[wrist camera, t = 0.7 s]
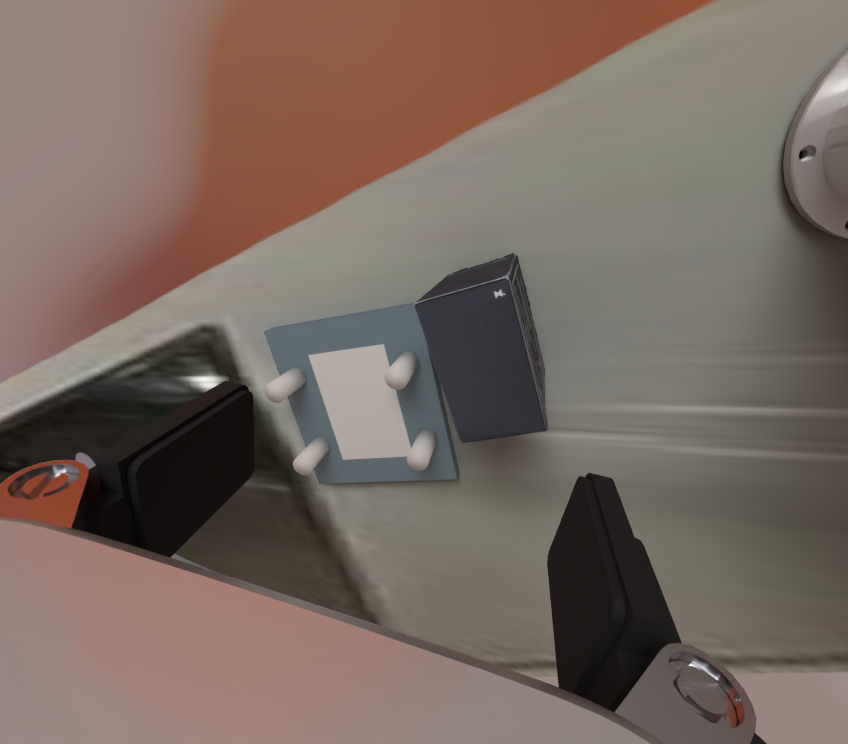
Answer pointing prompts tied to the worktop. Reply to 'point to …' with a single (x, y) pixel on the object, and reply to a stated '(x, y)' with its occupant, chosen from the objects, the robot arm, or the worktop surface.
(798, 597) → the worktop surface
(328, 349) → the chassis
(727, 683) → the robot arm
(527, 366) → the small box
